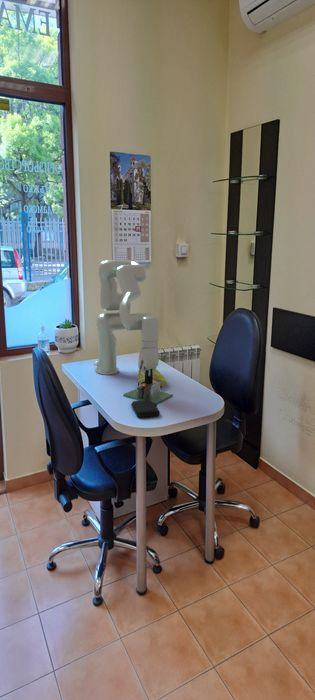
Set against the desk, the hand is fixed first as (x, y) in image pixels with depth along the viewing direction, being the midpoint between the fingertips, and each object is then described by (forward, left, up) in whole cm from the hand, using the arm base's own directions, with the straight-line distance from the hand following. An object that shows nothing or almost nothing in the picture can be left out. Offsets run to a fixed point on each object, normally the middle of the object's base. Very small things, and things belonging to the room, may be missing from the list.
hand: (148, 383), depth 203 cm
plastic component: (-11, +18, -7) cm, 22 cm away
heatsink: (0, 0, -6) cm, 6 cm away
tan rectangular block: (0, 0, -4) cm, 5 cm away
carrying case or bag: (+10, -15, -7) cm, 20 cm away
